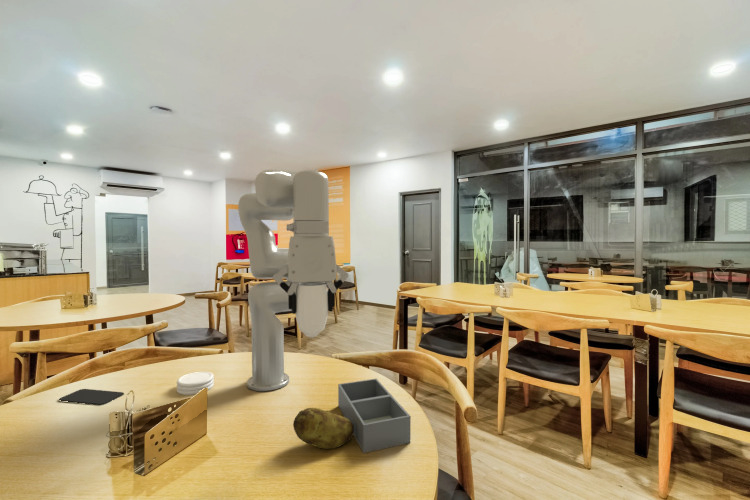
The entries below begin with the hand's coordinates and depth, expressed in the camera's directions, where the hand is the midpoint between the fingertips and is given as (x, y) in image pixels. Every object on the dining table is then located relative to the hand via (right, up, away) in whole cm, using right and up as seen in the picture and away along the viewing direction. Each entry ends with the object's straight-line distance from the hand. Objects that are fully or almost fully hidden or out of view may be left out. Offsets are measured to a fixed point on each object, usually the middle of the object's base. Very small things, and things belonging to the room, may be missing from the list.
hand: (311, 310), depth 77 cm
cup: (0, -15, +1) cm, 15 cm away
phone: (-67, -29, +24) cm, 77 cm away
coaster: (-41, -29, +30) cm, 58 cm away
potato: (+2, -30, +1) cm, 30 cm away
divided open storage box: (+13, -29, +10) cm, 34 cm away
